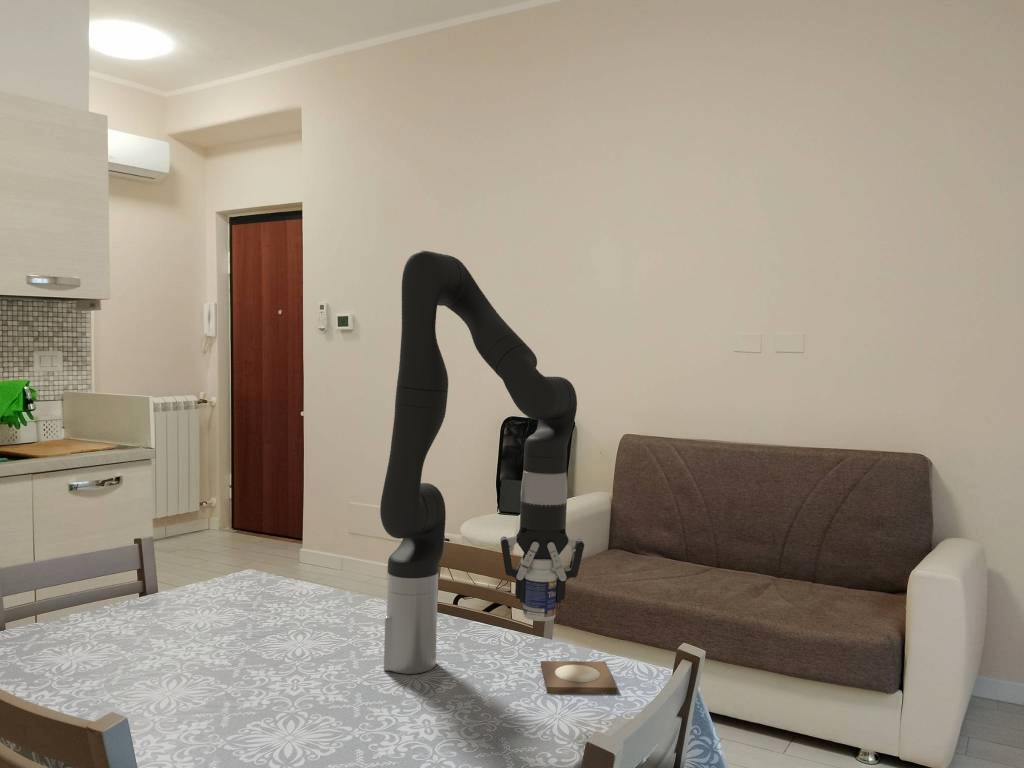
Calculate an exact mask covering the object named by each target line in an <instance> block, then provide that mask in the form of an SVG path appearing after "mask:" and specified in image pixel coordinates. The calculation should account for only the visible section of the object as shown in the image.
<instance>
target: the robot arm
mask: <svg viewBox="0 0 1024 768" xmlns="http://www.w3.org/2000/svg"><path fill="white" fill-rule="evenodd" d="M438 306H439V307H443V306H444V307H446V308H447V309H449V311H452V312H453V313H454V314H455V315H457V316H458V317H459V318H460V319H461V320H462V321H463V322H464V324H465V325H466V326H467V328H468V330H469V332H470V335H471V337H472V342H473V345H474V347H475V349H476V351H477V353H479V356H480V357H481V358H482V359H483V360H484V361H485V363H486V364H487V365H488V366H489V367H490V368H491V369H492V370H493V372H494V373H495V374H497V376H498V377H499V378H500V379H501V380H502V382H503V383H504V387H505V388H506V390H507V392H508V394H509V396H510V397H511V399H512V401H513V403H514V405H515V407H517V409H518V410H519V411H520V412H521V413H522V414H524V416H526V417H527V418H529V419H531V420H535V421H538V422H537V425H536V426H537V427H536V430H535V432H534V433H532V434H530V435H529V436H528V437H527V438H526V439H525V441H524V448H523V472H522V479H521V484H520V485H521V487H520V489H521V490H520V509H519V510H520V512H519V513H520V514H519V529H518V533H517V534H516V536H510V537H506V536H501V538H500V539H499V540H500V547H501V552H502V559H503V560H502V561H503V565H504V566H503V567H504V571H505V575H506V576H508V577H512V578H514V579H515V582H514V584H515V586H514V587H515V588H514V590H515V591H514V595H515V598H516V599H517V600H518V601H519V603H524V588H525V580H524V576H525V574H526V572H527V570H528V569H530V564H531V562H532V560H533V559H551V560H553V567H554V569H555V572H556V574H557V593H556V605H557V604H562V601H564V600H565V598H566V584H567V583H566V582H567V581H568V580H569V579H571V578H577V576H578V575H579V569H580V566H581V561H582V558H583V553H584V549H585V544H584V541H583V540H582V539H581V538H577V539H574V538H572V537H568V535H567V532H566V531H567V530H566V529H567V528H566V527H567V509H568V508H567V503H568V501H567V500H568V480H567V479H568V478H567V477H568V476H567V468H568V467H567V463H568V460H567V459H568V444H569V441H570V439H571V435H572V431H573V427H574V423H575V419H576V416H577V415H576V414H577V410H578V409H577V408H578V398H577V392H576V390H575V388H574V387H575V386H574V384H573V383H572V382H570V380H568V378H565V377H562V376H545V375H543V374H542V373H541V372H540V371H539V370H538V369H537V366H538V358H537V356H536V354H535V352H534V351H533V350H532V349H531V347H530V346H529V345H528V344H526V342H524V340H523V339H522V338H521V337H520V336H519V335H518V334H517V333H516V332H515V331H514V330H513V329H512V327H511V326H509V324H508V323H507V322H506V321H505V320H504V319H503V318H502V317H501V315H500V314H499V313H498V312H497V310H496V309H495V308H494V306H493V305H492V303H491V302H490V300H488V298H487V297H486V295H485V294H484V293H483V291H482V289H481V288H480V286H479V285H478V283H477V281H476V280H475V278H474V277H473V276H472V274H471V272H470V271H469V269H467V266H465V264H464V263H463V262H462V261H461V260H460V259H458V258H457V257H455V256H452V255H448V254H443V253H439V252H434V251H430V250H418V251H415V252H414V253H412V254H411V255H410V256H409V258H408V259H407V261H406V262H405V265H404V267H403V271H402V277H401V336H400V351H399V362H398V363H399V365H398V374H397V381H396V387H395V388H396V389H395V390H396V391H395V400H394V415H393V416H394V417H393V425H392V432H391V442H390V451H389V457H388V463H387V469H386V473H385V479H384V483H383V487H382V488H383V489H382V495H381V499H380V510H379V513H380V514H379V515H380V521H381V523H382V527H383V529H384V531H385V532H386V533H387V535H389V536H390V537H391V538H394V539H399V540H400V539H402V540H401V542H400V544H399V545H398V547H397V549H395V550H394V551H393V552H392V553H391V554H390V555H389V557H388V560H387V582H386V583H387V585H386V587H387V589H386V614H385V618H384V642H383V643H384V645H383V650H384V651H383V671H390V672H393V673H397V674H403V675H404V674H406V675H407V674H410V675H411V674H420V673H425V672H428V671H431V670H432V669H434V668H435V667H436V665H437V664H436V663H437V636H438V635H437V629H438V595H439V593H438V590H439V589H438V588H439V587H438V586H439V564H440V561H441V559H442V557H443V554H444V547H445V546H444V545H445V532H446V520H447V519H446V518H447V517H446V515H447V513H446V511H447V510H446V504H445V503H446V502H445V499H444V496H443V494H442V492H441V491H440V489H439V488H438V487H437V486H435V485H433V484H432V483H428V482H422V474H423V469H424V464H425V460H426V458H427V455H428V452H429V451H430V449H431V447H432V445H433V443H434V442H435V439H436V437H437V435H438V434H439V432H440V429H441V427H442V425H443V423H444V421H445V418H446V412H447V406H448V405H447V403H448V395H449V393H448V392H449V376H448V375H449V374H448V369H447V367H446V364H445V360H444V358H443V355H442V352H441V350H440V347H439V344H438V339H437V333H436V324H437V322H436V321H437V310H438ZM516 544H517V545H518V546H519V547H520V549H521V550H522V552H523V554H522V556H521V557H520V558H521V559H520V562H519V564H518V566H517V567H514V566H513V564H512V557H511V552H512V551H514V549H515V545H516ZM567 545H568V546H569V550H570V552H571V558H570V562H569V565H568V568H566V569H564V566H563V564H562V561H561V558H560V554H562V552H564V549H565V548H566V547H567Z"/></svg>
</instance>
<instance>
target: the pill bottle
mask: <svg viewBox="0 0 1024 768" xmlns="http://www.w3.org/2000/svg"><path fill="white" fill-rule="evenodd" d="M553 568H554V563H553V560H551V559H533V560H532V562H531V564H530V566H529V568H528V569H527V572H526V574H525V576H524V580H525V588H524V603H523V604H522V606H523V607H522V615H523V617H524V618H525V619H527V620H531V621H535V622H536V621H537V622H546V621H547V622H548V621H551V620H553V619H555V618H556V611H557V604H556V593H557V577H558V574H557V571H556V570H554V569H553Z"/></svg>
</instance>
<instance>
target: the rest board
mask: <svg viewBox="0 0 1024 768" xmlns="http://www.w3.org/2000/svg"><path fill="white" fill-rule="evenodd" d="M540 668H541V673H542V677H543V681H544V686H545V690H546V693H547V694H553V693H554V694H617V693H618V686H617V685H616V682H615V680H614V678H613V676H612V674H611V672H610V668H609V666H608V664H607V662H606V661H588V660H587V661H581V660H579V661H577V660H576V661H574V660H573V661H571V660H570V661H569V660H566V661H565V660H564V661H563V660H540Z"/></svg>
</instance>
